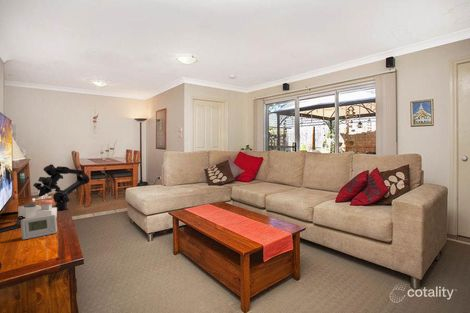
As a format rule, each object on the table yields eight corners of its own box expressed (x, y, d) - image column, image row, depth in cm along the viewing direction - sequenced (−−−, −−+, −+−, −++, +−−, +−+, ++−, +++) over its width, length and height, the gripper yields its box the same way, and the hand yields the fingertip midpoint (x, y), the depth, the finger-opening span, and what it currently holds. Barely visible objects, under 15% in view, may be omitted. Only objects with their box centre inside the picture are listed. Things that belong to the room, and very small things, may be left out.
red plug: (43, 211, 170) (43, 200, 170) (53, 211, 172) (54, 200, 172) (38, 214, 164) (39, 202, 164) (49, 213, 166) (50, 202, 166)
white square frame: (41, 217, 171) (41, 207, 171) (56, 217, 174) (56, 207, 174) (35, 221, 163) (35, 210, 162) (51, 220, 165) (51, 210, 165)
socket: (32, 213, 180) (33, 204, 179) (40, 215, 176) (40, 205, 176) (18, 216, 171) (18, 206, 171) (26, 218, 168) (26, 208, 168)
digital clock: (20, 241, 129) (21, 221, 129) (19, 236, 136) (20, 217, 136) (58, 235, 140) (58, 216, 140) (55, 230, 147) (56, 213, 147)
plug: (32, 213, 178) (32, 202, 178) (37, 214, 175) (37, 203, 175) (21, 215, 172) (21, 204, 172) (27, 217, 170) (27, 205, 169)
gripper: (36, 172, 182) (19, 188, 171) (57, 173, 178) (42, 190, 168) (45, 181, 190) (30, 198, 179) (66, 183, 186) (52, 200, 176)
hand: (38, 196), depth 175 cm, fingers closed
